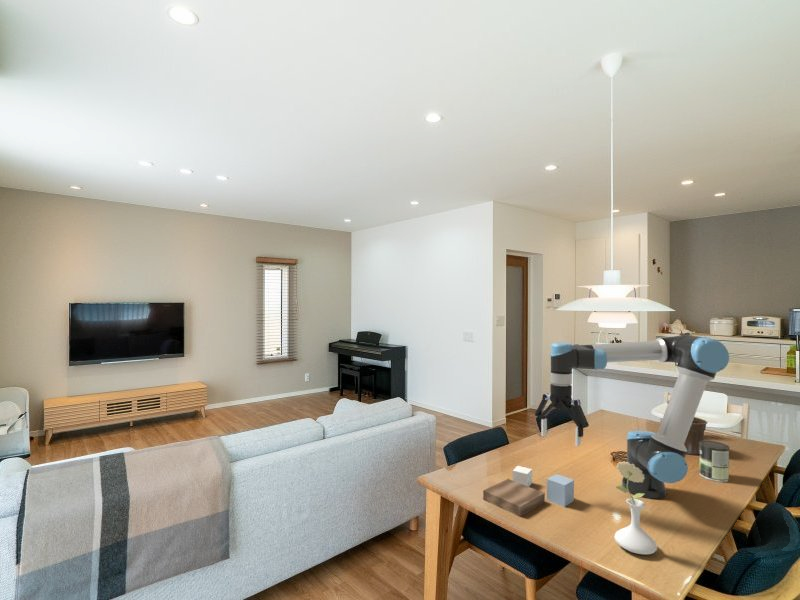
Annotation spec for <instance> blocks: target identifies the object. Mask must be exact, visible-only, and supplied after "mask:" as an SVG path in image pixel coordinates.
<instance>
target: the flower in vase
mask: <svg viewBox="0 0 800 600" xmlns="http://www.w3.org/2000/svg"><path fill="white" fill-rule="evenodd" d="M616 469H617V470H618V472H619V473H620V475H621V476H624V477H625V478H628V480H627V489H626V488H625V487H623V486H622V484H621V485H620V484H619V485H617V486H616V487H615V488H616V489H618V490H620V491H622V492H623V493H625V494H626V493H628V494H629V496H630V498H627V499H626V500H625V502H626V503H627V504H628V506H629V509H630V516H631V519H630V520H631V521H630V524H628V525H627V526H625V527H622V528H620V529H619V530H617V531H616V532H615V534H614V540H615V542H616V543H617V544H618V545H619V546H620V547H621V548H623V549H625V550H627V551H629V552H630V553H633V554H637V555H638V554H639V555H646V556H647V555H653V554H654V553H656V552H657V550H658V544H657V543H656V541H655V540H654V539H653V538H652V537H651V535H649V533H647V532H646V531H645V530H643V529H642V527H641V523H640V521H641V520H640V519H641V513H642V509H643V508H644V507H645V506H646V503H645V502H644V501H642V500H640V499H639V498H641V497H642V496H643V495H644V494H645V493H644V494H642V493H638V494H633V496H632V493H630V492H629V490H628V481H629V480H630V481H633V482H638V483H639V482H643V480H644V479H645V477H644V475H643V474H642V471H641V470H640V469H639V468H636V467H635V465H634V464H630V463H629V462H627V461H619V462H617V465H616ZM642 498H643V497H642Z"/></svg>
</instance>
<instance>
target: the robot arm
mask: <svg viewBox="0 0 800 600" xmlns="http://www.w3.org/2000/svg"><path fill="white" fill-rule="evenodd" d="M729 353H730V352H729V351H728V349H727V347H726V345H724V343H722V342H721V341H719V340H717V339H715V338H711V337H707V336H700V335H699V336H698V335H691V334H685V335H683V334H681V335H676V336H668V337H667V336H666V337H657V338H656V339H655V340H647V341H646V340H643V341H631V342H626V341H625V342H612V343H596V344H594V343H593V344H578V343H577V344H571V343H568V342H554V343H552V344H551V345H550V354H549V355H550V377H549V378H550V384H549V386H550V388H549V389H550V394H549V393H548V392H547V393H543V394H542V397H541V398H542V399H541V401H540V402H539V404H538V407H537V409H536V411H535V413H534V416H535V417H537V418H539V427H540V428H541V429H540V431H541V432H540V433H541V437H546V436H547V434H548V430H547V429H548V418H546V417H547V416H548V415H549V413H551V412H552V411H553V410H554V408H555V409H557V410H559V409H560V410H561V411H564V410H565V412H566V413H567V414H568V415H569V417H570V418H571V420H572V421H573V423H574V424H575V425H576V427H575V428H574V429H575V431H574V432H575V433H574V434H575V437H574V438H575V440H574V442H575V447H580V445H582V438H583V437H584V429H586V428H588V427H589V426H590V424H589V421H588V420H587V417H586V415H585V412H584V411H583V408H582V406H581V400H580V399H573V398H572V395H573V392H572V391H573V387H572V384H573V383H572V380H573V369H575V370H595V371H596V370H604V369H605V368H606V367H607V365H608V363H620V362H622V363H623V362H641V361H642V362H643V361H659V362H660V363H675V364H676V369H677V370H678V375H677V378H676V381H675V384H674V387H673V389H672V392H671V394H670V397H669V400H668V401H669V403H668V404H667V405H666V408H665V411H664V413H663V416H662V419H661V421H662V422H661V421H660V424H659V428H658V430H657V432H654V431H648V430H647V431H646V430H631V431H628V432H627V437H626V462H629V463H630V464H634V465H635V467H636V468H639V469H640V470H641V471H642V474H643V475H644V477H645V479H644V480H643V482H639V483H638V482H633V481H630V480H629V481H628V490H629V492H630V494H631V495H635V494H638V493H642V494H644V493H645V494H644V495H643V496H642V498H647V499H662V498H665V497H666V495H667V488H666V485H665V483H666V484H675V483H678V482H681V481H682V480H683V479H684V478H685V477H686V475H687V474H688V472H689V466H688V463H687V460H686V456H687V454H686V453H687V449H686V447H685V445H684V443H685V440H686V438H687V435H688V432H689V429H690V427H691V424H692V421H693V419H694V417H696V416H695V415H696V413H697V410H698V408H699V405H700V402H701V399H702V397H703V394H704V392H705V389H706V386H707V383H708V382H711V381H713V380H714V379H715V377H716V375H717V373H719V372H721V371H723V370H724V369H725V368H727V366H728V364H729V361H730V354H729ZM549 400H550V404H549V405H548V406H547V407H546V405H547V403H548V401H549ZM545 407H546V408H545ZM573 407H574V408H573ZM622 476H623V475H622ZM627 480H628V478H625V477H624V476H623V477H622V479H621V485H622V486H623V487H625V488H626V489H627Z"/></svg>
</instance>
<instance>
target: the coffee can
mask: <svg viewBox="0 0 800 600" xmlns="http://www.w3.org/2000/svg"><path fill="white" fill-rule="evenodd" d="M699 444H700V454H699V467H698V468H699V470H698V471H699V472H698V473H699V474H698V475H699V476H700V477H702V478H704V479H706V480H707V481H708V480H709V481H712V482H719V483H726V482H729V480H730V475H729V472H730V469H729V468H730V466H729V465H730V464H729V463H730V461H729V460H730V446H729V445H728V444H725V443H723V442H720V441H716V440H708V439H706V440H705V439H703V441H700V442H699Z"/></svg>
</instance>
